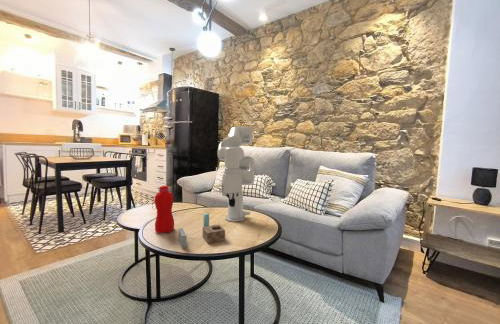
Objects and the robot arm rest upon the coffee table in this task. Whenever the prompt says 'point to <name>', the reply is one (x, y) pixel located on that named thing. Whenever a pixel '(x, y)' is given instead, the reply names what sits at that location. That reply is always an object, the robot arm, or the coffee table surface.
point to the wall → (182, 238)
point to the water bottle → (164, 210)
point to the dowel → (206, 219)
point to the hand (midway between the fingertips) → (231, 206)
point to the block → (213, 233)
